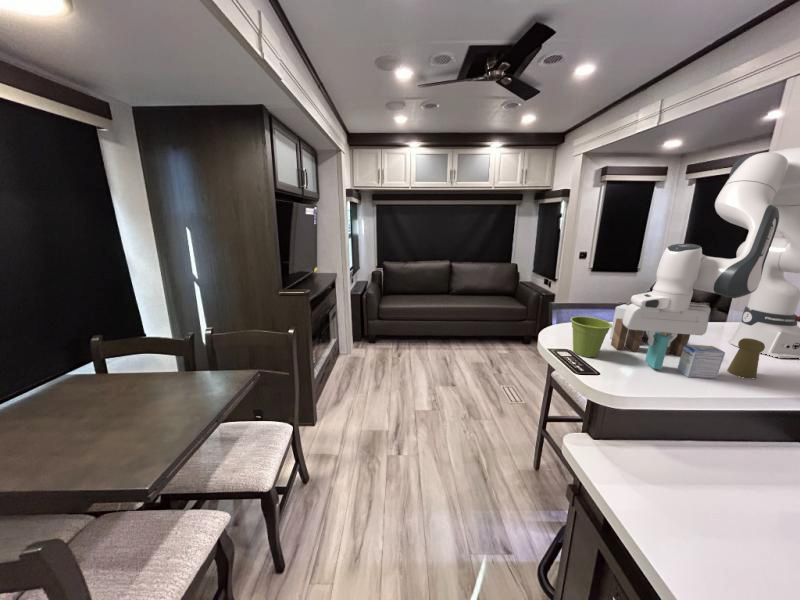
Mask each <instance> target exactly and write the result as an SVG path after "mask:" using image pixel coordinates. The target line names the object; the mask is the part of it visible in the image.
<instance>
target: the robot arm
mask: <svg viewBox="0 0 800 600" xmlns="http://www.w3.org/2000/svg"><path fill="white" fill-rule="evenodd" d="M729 172H730V173H729V177H728V179H727V181H726V182H725V184H724V185H723V187H722V189H721V190H720V192H719V194H718V195H717V197H716V198H715V202H714V208H715V212H716V214H717V215H719V216H720V218H722V219H723V220H724V221H726V222H728V223H730V224H733V225H736V226H738V227H742V228H744V229H746V230H748V233H747V236H746V238H745V241H743V242H742V243H741V244H740V245H739V246H738V248H737V250H736V253H735V254H736V257H735V258H724V257H716V256H715V257H714V256H709V255H705V254H703V249H702V248H703V247H701V245H698V244H694V243H676V244H675V243H674V244H671V245H668V246H666V248H665V250H664V251H663V253H662V255H661V258H660V261H659V262H658V263H659V264H658V267H657V270H656V274H655V275H656V281H655V284H654V285H653V287H652V291H648V292H644V293H638V294H634V295H632V296H631V298H630V302H631V303H629V304H628V305H629V306H628V307H627V309H626V311H625V314H624V318H623V325H624V326H625V327H626V328H628V329H631V330H643V331H646V334H647V336H648V338H649V339H648V343H647V344H648V346H649V345H656V343H657V340H656V339H654V338H653V335H655V332H666V333H667V334H669V335H668V336H667V337H668V338H670V339H669V343H668V346H667V347H669V346H670V342H671V341H673V340H674V339H675V338H676V337H677V334H689V335H690V336H691V335H693V336H703V335H705V334H706V333H707V332H708V331H707V330H708V326H709V317H710V315H711V314H710V313H711V307H710V306H709V305H707V303H704V302H703V303H702V302H699V303H698V302H693V301H692V302H691V300H692V299H693V296H694V295H693V294H694V289H695V290H697V291H702V292H703V291H704V292H708V293H712V294H717V295H718V296H723V297H727V298H730V299H738V298H742V297H745V296H748V295H750V296H749V299H748V303H747V306H745V307H744V309H743V312H742V314H741V321H740V323H739V325H738V327H737V329H736V330H735V333H734V334H733V335H732V336H731V338H730V339H729V340H728V343H730V344H731V345H733V346H735V347H738V348H739V346H738V343H739V341H740V340H741V339H743V338H749V339H755V340H758V341H761V342H763V343H764V345H765V348H764V350H763V351H762V352H760V354H761V353H762V355H765V354H767V356H769V355H770V356H769V357H772V356H773V358H775V357H778V358H777V359H780V358H800V327H799V326H798V322H800V315H799V316H798V315H797V314H796V311H797V308H798V306H799V303H800V289H799V288H798V287H797V286H796V285H794V284H793V283H791V282H788V280H786V278H785V275H784V273H792V274H793V273H794V274H800V146H797V147H787V148H784V149H778V150H772V151H766V152H761V153H758V152H756V153H752V154H749V155H745V156H743V157H742V158H740V159H738V160H737V161H736V162H735V163H734V164H733V165H732V167H731V169H730V171H729ZM776 232H777V233H778V234H781V235H782V236H784V237H775V235H776ZM652 334H653V335H652Z"/></svg>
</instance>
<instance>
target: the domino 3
mask: <svg viewBox="0 0 800 600" xmlns="http://www.w3.org/2000/svg"><path fill="white" fill-rule="evenodd" d="M652 335H653V334H652ZM653 338H654V339H656V340H657V343H656V345H649V344H648V349H647V353H646V356H645V360H644V362H645V363H646V364H647V365H648V366H650V368H652V369H655V370H662V367H663V364H664V362H665V361H664V360H665V358H666V355H665V354H666V350H667V346H668V343H669V339H670V338H668V337H667V336H665V335H664V334H662V333H661V332H655V335H653Z"/></svg>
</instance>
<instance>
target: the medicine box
mask: <svg viewBox="0 0 800 600" xmlns="http://www.w3.org/2000/svg"><path fill="white" fill-rule="evenodd" d="M725 355H726V352H725V351H724V350H722V349H719V348H718V347H715V346H714V345H702V344H699V345H698V344H687V345H684V347H683V351H682V354H681V357H679V361H678V365H677V368H676V370H677V372H678V373H681V374H682V375H683V376H685V377H687V378H699V379H700V378H701V379H717V378H718V376H719V373H720V369H721V366H722V364H723V360H724V357H725Z"/></svg>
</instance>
